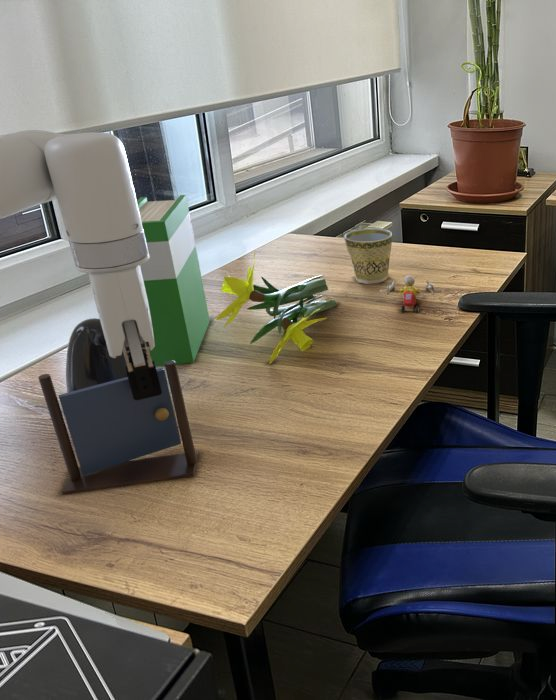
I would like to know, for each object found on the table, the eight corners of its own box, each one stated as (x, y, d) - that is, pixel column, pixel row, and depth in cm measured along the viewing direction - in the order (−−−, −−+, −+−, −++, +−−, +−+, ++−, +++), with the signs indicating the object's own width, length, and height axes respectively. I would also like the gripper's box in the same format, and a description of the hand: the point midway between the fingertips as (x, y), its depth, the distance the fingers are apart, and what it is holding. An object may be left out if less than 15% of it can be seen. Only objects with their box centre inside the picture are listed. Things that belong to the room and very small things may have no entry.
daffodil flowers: (375, 311, 138) (318, 340, 104) (314, 348, 141) (239, 389, 106) (329, 236, 136) (255, 241, 102) (268, 275, 139) (177, 293, 105)
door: (85, 481, 86) (61, 403, 81) (82, 472, 87) (58, 394, 83) (184, 449, 92) (167, 374, 87) (179, 441, 93) (162, 367, 89)
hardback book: (168, 325, 131) (140, 197, 121) (210, 322, 132) (186, 194, 122) (146, 368, 115) (112, 224, 105) (194, 364, 116) (164, 221, 106)
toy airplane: (408, 318, 132) (406, 286, 129) (378, 306, 138) (376, 274, 135) (444, 305, 138) (443, 274, 135) (414, 293, 144) (413, 263, 141)
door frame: (63, 497, 85) (27, 387, 78) (74, 473, 89) (41, 367, 83) (196, 478, 88) (172, 371, 81) (200, 456, 92) (178, 353, 86)
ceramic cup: (376, 291, 145) (373, 244, 141) (338, 283, 150) (334, 237, 146) (411, 272, 156) (409, 228, 151) (375, 265, 160) (372, 222, 156)
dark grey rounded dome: (100, 445, 95) (71, 342, 88) (63, 421, 101) (33, 323, 94) (169, 413, 102) (146, 316, 96) (130, 393, 108) (107, 300, 101)
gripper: (71, 239, 83) (110, 377, 90) (74, 275, 71) (118, 431, 78) (140, 229, 86) (172, 364, 94) (154, 262, 74) (189, 414, 82)
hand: (147, 394), depth 86 cm, fingers closed
